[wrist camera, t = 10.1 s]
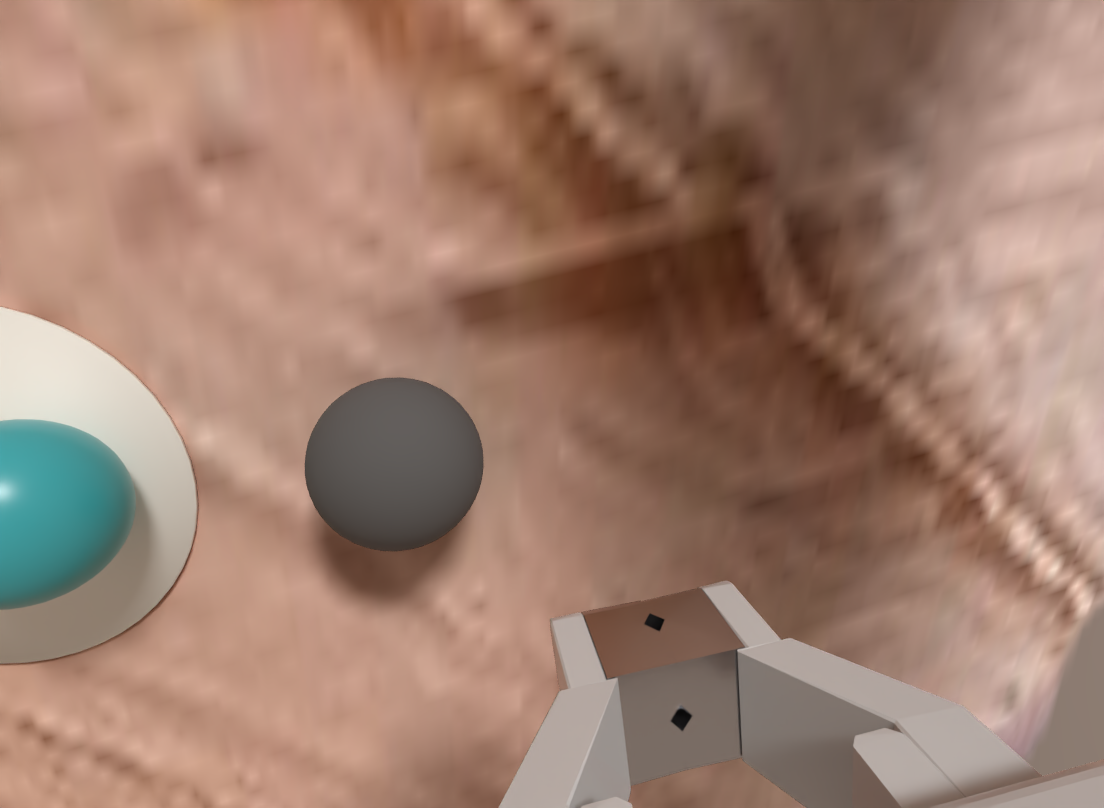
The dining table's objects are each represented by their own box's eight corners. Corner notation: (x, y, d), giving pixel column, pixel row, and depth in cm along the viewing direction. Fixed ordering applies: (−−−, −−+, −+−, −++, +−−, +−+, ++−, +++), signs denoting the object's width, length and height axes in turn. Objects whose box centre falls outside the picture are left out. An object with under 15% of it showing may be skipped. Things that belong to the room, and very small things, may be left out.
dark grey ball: (337, 427, 16) (247, 409, 20) (400, 610, 18) (307, 560, 22) (496, 356, 20) (394, 353, 24) (533, 511, 22) (433, 484, 26)
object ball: (-62, 455, 15) (-213, 461, 16) (22, 660, 16) (-123, 647, 18) (149, 393, 20) (22, 401, 22) (196, 549, 22) (74, 546, 23)
